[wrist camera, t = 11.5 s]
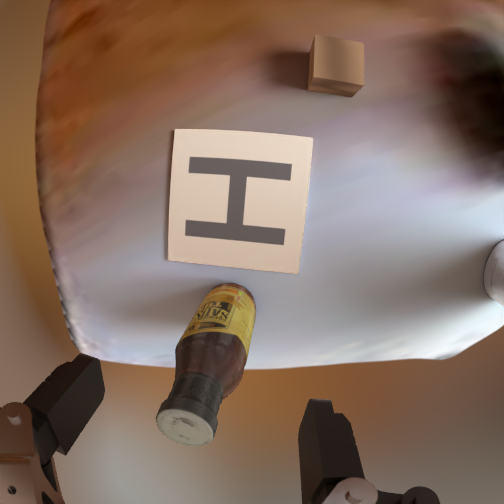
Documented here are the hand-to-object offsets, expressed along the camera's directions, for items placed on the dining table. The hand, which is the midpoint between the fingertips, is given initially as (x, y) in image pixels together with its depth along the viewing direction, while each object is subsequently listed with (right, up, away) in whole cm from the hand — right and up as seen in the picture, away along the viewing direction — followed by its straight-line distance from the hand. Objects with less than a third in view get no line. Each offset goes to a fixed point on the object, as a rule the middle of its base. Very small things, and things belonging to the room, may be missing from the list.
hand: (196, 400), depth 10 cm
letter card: (0, +11, +23) cm, 25 cm away
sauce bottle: (-1, -1, +26) cm, 26 cm away
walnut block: (+11, +25, +19) cm, 33 cm away
